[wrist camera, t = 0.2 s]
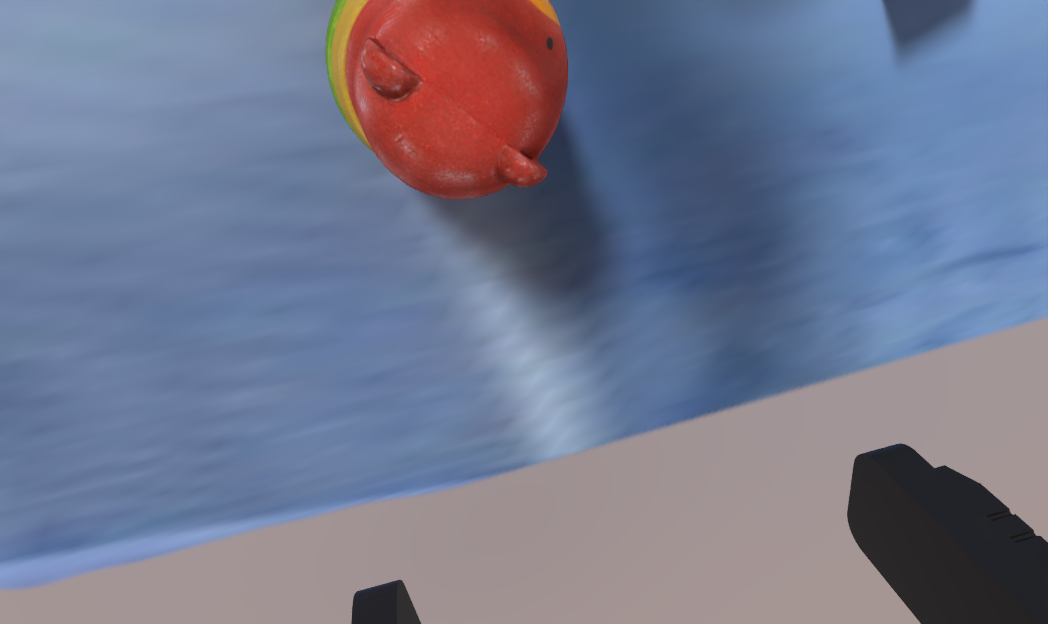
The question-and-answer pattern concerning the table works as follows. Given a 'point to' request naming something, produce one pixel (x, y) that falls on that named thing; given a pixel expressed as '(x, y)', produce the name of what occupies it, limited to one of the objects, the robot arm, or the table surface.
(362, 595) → the robot arm
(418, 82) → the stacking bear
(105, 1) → the table surface
